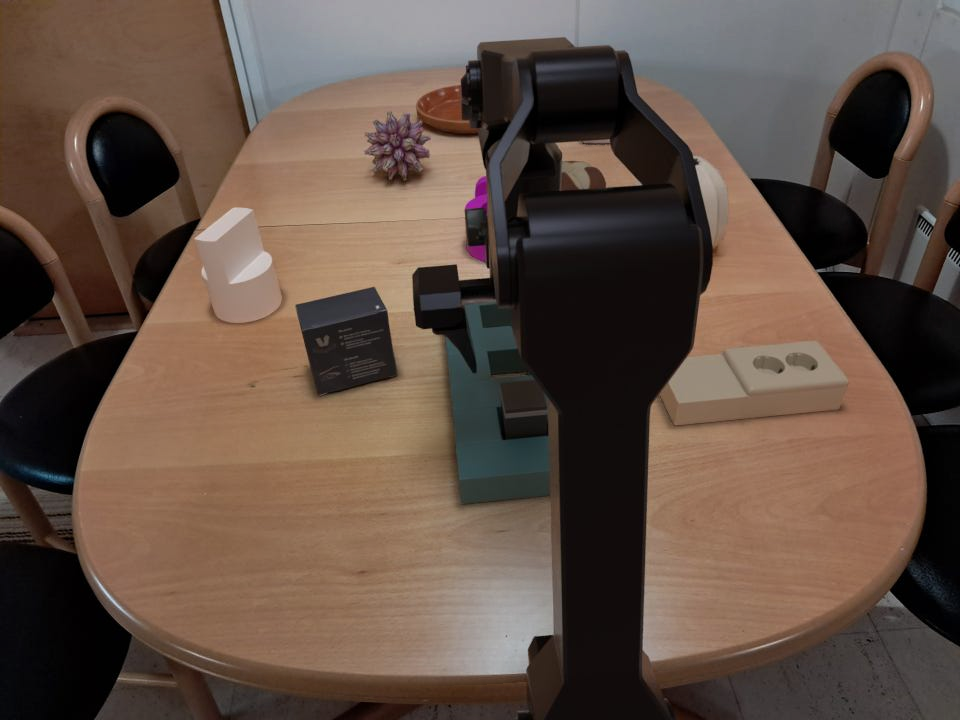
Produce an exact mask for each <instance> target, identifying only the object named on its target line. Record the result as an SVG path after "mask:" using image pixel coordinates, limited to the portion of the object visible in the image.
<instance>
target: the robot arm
mask: <svg viewBox="0 0 960 720" xmlns="http://www.w3.org/2000/svg"><path fill="white" fill-rule="evenodd" d="M629 54H630V53H629V52H627V51H626V50H624V49H623V50H615V48H613V47H612V46H611V45H610V44H605V45H604V44H603V45H602V44H601V45H587V46H586V45H585V46H575V45H574V44H573V43H572V42H571V41H570V40H569V39H568V38H567V37H565V36H561V37H548V38H547V37H546V38H528V39H512V40H511V39H510V40H493V41H480V42H479V43H478V45H477V48H476V57H477V59H473V60H472V59H471V60H468V61H467V65H465V73H464V74H463V76H462V77H461V78H460V85H461V114H462V120H469V123H470V129H473V128H478V133H477V136H478V143H479V148H480V153H481V159H482V164H483V167H484V169H485V176H486V185H487V213H486V210H485V209H484V208H472V209H465V208H464V224H465V226H464V227H465V238H466V245H467V244H468V246H469V247H471V246H483V245H485V260H486V262H485V264H486V265H485V266H486V269H488V271H489V277H481V278H472V279H471V278H470V279H460V278H459V270H458V264H457V263H455V264H444V265H443V264H442V265H433V266H432V265H431V266H422V267H421V266H419V267H417V268H416V269H415V271H414V272H413V273H412V275H411V280H412V302H413V313H414V314H413V315H414V321H415V323H414V324H415V327H416V328H419V329H421V330H430V329H431V331H432V334H433V335H435V336H444V337H445V336H446V337H447V338H448V339H449V340H450V341H451V343H452V344H453V345H454V346H455V347H456V348H457V349H458V350H459V352H460V353H461V355H462V357H463V358H464V360H465V362H466V363H467V365H468V367H469V368H470V370H471V372H472V373H477V363H476V357H475V350H474V346H473V341H472V337H471V332H470V328H469V323H468V319H467V314H466V309H465V305H469V304H480V303H492V302H496V304H497V309H498V310H507V309H510V320H511V325H510V326H511V327H512V331H513V334H514V337H515V340H516V343H517V347H518V350H519V353H520V356H521V360H522V362H523V364H524V365H525V367H526V368H527V369H528V371H527V372H529V375H530V374H531V375H532V376H533V378H534V379H535V381H536V382H537V383H538V385H539V386H540V388H541V389H542V390H543V392H544V393H545V395H546V396H547V397H548V433H549V471H550V495H549V498H550V499H549V502H550V503H549V504H550V505H549V506H550V509H549V510H550V541H551V542H550V543H551V583H552V618H553V619H552V620H553V622H552V623H553V624H552V625H553V633H552V634H546V635H534V636H533V637H532V639H531V641H530V644H529V646H528V648H527V661H528V662H527V663H528V665H527V666H526V669H525V670H526V671H525V681H526V710H516V712H515V715H516V716H515V718H513V719H512V720H677V718H676V715H675V712H674V709H673V707H672V704H671V702H670V701H669V699H668V698H667V697H665V696H664V694H663V692H662V689H661V687H660V683H659V681H658V679H657V676H656V673H655V670H654V667H653V665H652V662H651V660H650V657H649V656H648V654H647V653H646V652H645V650H644V649H643V648H644V647H643V645H644V616H645V614H644V613H645V586H646V585H645V584H646V583H645V582H646V552H647V551H646V550H647V549H646V548H647V518H648V490H649V489H648V486H649V457H650V456H649V454H650V452H649V451H650V426H651V425H650V421H651V408H652V405H653V404H654V402H655V401H656V400H657V398H658V397H659V396H660V393H661V391H662V390H663V389H664V387H665V386H666V385H667V383H668V382H669V381H670V379H671V378H672V376H673V375H674V374H675V372H676V371H677V370H678V368H679V367H680V366H681V364H682V363H683V362H684V360H685V359H686V358H687V357H689V355H690V354H691V352H692V350H693V348H694V345H695V339H696V330H697V324H698V314H699V309H700V299H701V295H702V294H704V293H705V292H706V291H707V289H708V286H709V283H710V281H711V278H712V277H711V275H712V271H713V262H714V261H713V260H714V259H713V258H714V257H713V256H714V254H713V253H714V252H713V251H714V249H713V245H712V238H711V231H710V226H709V222H708V218H707V214H706V209H705V205H704V201H703V197H702V192H701V188H700V184H699V180H698V175H697V171H696V167H695V163H694V158H693V155H694V154H693V152H692V150H691V148H690V147H689V145H688V144H687V143H686V142H685V141H684V140H683V139H682V138H681V137H680V136H679V135H678V134H677V132H675V131H674V129H672V127H671V126H670V125H669V124H668V123H666V121H665V120H663V118H662V117H661V116H660V115H659V114H658V113H657V112H656V111H655V110H654V109H653V108H652V107H651V106H650V105H649V104H648V103H647V102H646V101H645V100H644V99H643V98H642V97H641V96H640V95H639V93H638V88H637V84H636V78H635V73H634V69H633V64H632V61H631V57H630V55H629ZM608 139H610V143H609V144H610V149H611V152H612V153H613V155H614V156H615V157H616V159H617V160H618V161H620V163H621V164H622V165H623V166H624V167H625V168H626V169H627V170H628V171H629V172H630V174H632V176H633V177H634V178H635V179H636V180H638V181H639V182H640V183H641V184H642V185H638V186H635V185H625V186H610V187H609V186H608V187H607V186H606V188H592V189H577V190H562V191H561V179H562V162H563V152H562V150H561V149H560V148H559V146H558V144H561V143H562V144H563V143H575V142H576V143H577V142H583V141H594V140H608Z"/></svg>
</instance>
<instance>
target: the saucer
mask: <svg viewBox="0 0 960 720" xmlns="http://www.w3.org/2000/svg"><path fill="white" fill-rule="evenodd" d="M415 109H416V115H417V117H418V119H419V121H422V122H423V123H425V124H427V125H429V126H431V127H432V128H434V129H437V130H440V131H443V132H448V133H454V134H478V128H473V129H470V123H469V120H462V114H461V84H456V85H450V86H445V87H441V88H437V89H435V90H431V91H429V92H427V93H425V94H423V95H422V96H420V97H419V98H418V100H417V101H416V103H415Z"/></svg>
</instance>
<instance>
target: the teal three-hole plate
mask: <svg viewBox="0 0 960 720" xmlns="http://www.w3.org/2000/svg"><path fill="white" fill-rule="evenodd" d="M465 309H466V314H467V319H468V323H469V328H470V332H471V337H472V341H473V346H474V350H475V357H476V363H477V373H472V372H471V370H470V368H469V367H468V365H467V363H466V362H465V360H464V358H463V357H462V355H461V353H460V352H459V350H458V349H457V348H456V347H455V346H454V345H453V344H452V343H451V341H450V340H449V339H448V338H447V337H446V336H445V335H444V339H445V348H446V357H447V369H448V379H449V380H448V381H449V389H450V400H451V410H452V411H451V412H452V421H453V431H454V443H455V453H456V464H457V473H458V485H459V494H460V503H461V505H469V504H477V503H488V502H489V503H490V502H498V501H509V500H518V499H526V498H527V499H528V498H537V497H547V496H549V497H550V471H549V433H548V414H547V429H546V436H541V437H530V438H520V439H510V440H503V438H502V426H501V394H500V383H504V382H514V381H525V380H535V379H534V378H533V376H532V375H531V374H530V373H529V374H527V375H518V376H507V377H498V378H497V377H496V378H493V377H492V376H493V375H501V374H513V373H522V372H524V373H525V372H529V371H528V369H527V368H526V367H525V365H524V364H523V362H522V360H521V356H520V353H519V350H518V347H517V343H516V340H515V337H514V334H513V331H512V327H511V320H510V309H507V310H498V309H497V304H496V302H492V303H480V304H469V305H465ZM544 396H545V399H546V403H547V409H548V397H547V396H546V395H545V393H544Z"/></svg>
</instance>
